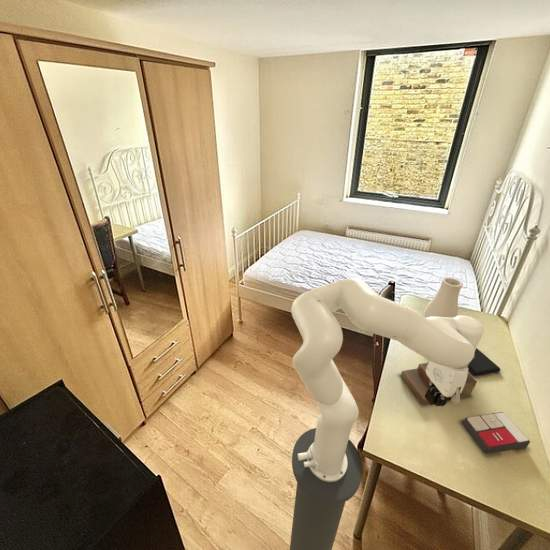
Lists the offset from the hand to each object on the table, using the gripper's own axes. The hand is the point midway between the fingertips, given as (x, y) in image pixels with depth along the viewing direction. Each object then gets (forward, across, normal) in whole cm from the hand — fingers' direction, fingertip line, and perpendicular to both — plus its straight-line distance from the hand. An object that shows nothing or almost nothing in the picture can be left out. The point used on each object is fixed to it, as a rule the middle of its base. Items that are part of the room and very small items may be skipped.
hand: (435, 399), depth 90 cm
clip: (0, 0, 0) cm, 0 cm away
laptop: (+18, -27, +43) cm, 54 cm away
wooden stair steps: (+18, -17, +17) cm, 30 cm away
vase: (+18, -45, +38) cm, 62 cm away
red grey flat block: (+18, +5, +24) cm, 30 cm away
